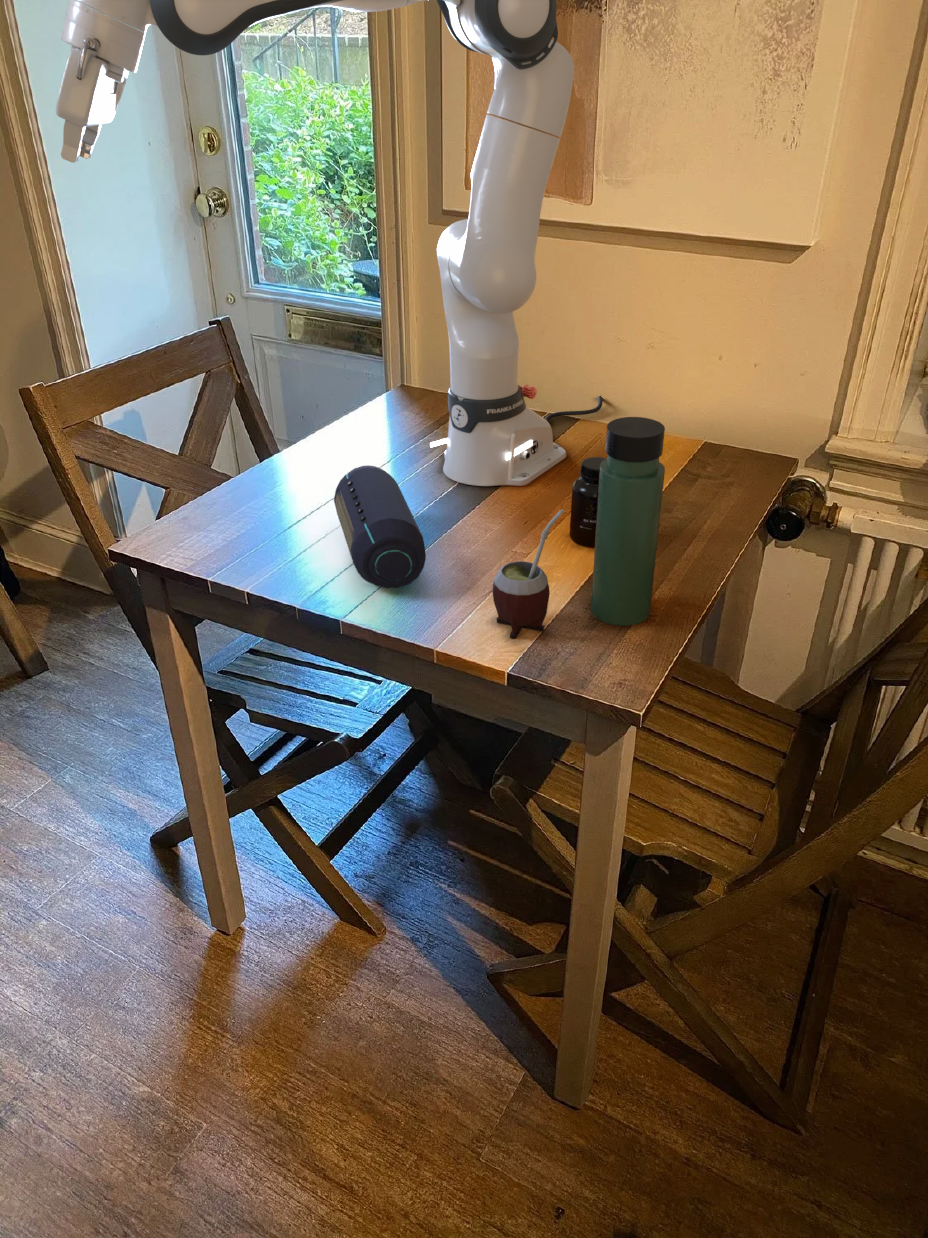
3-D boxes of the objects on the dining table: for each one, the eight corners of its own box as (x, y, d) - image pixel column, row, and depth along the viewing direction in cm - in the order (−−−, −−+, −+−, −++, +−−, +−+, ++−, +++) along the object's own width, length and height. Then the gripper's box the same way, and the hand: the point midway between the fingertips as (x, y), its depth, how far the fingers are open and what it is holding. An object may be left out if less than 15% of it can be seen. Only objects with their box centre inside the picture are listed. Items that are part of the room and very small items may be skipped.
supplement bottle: (586, 553, 135) (590, 476, 128) (560, 534, 140) (563, 459, 133) (625, 542, 137) (631, 466, 131) (598, 524, 142) (603, 449, 136)
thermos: (614, 588, 126) (629, 410, 113) (661, 609, 122) (682, 426, 108) (578, 610, 122) (589, 427, 108) (626, 632, 117) (643, 444, 104)
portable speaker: (333, 521, 145) (327, 461, 139) (397, 513, 147) (393, 453, 141) (359, 604, 124) (353, 537, 119) (433, 593, 126) (430, 527, 121)
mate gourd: (484, 635, 118) (484, 528, 109) (505, 603, 124) (506, 500, 116) (542, 646, 115) (545, 537, 107) (559, 613, 121) (564, 508, 113)
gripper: (116, 49, 106) (87, 174, 111) (139, 57, 124) (113, 164, 129) (57, 22, 104) (31, 151, 109) (89, 34, 122) (65, 144, 127)
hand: (76, 158), depth 119 cm, fingers open, 8 cm apart
